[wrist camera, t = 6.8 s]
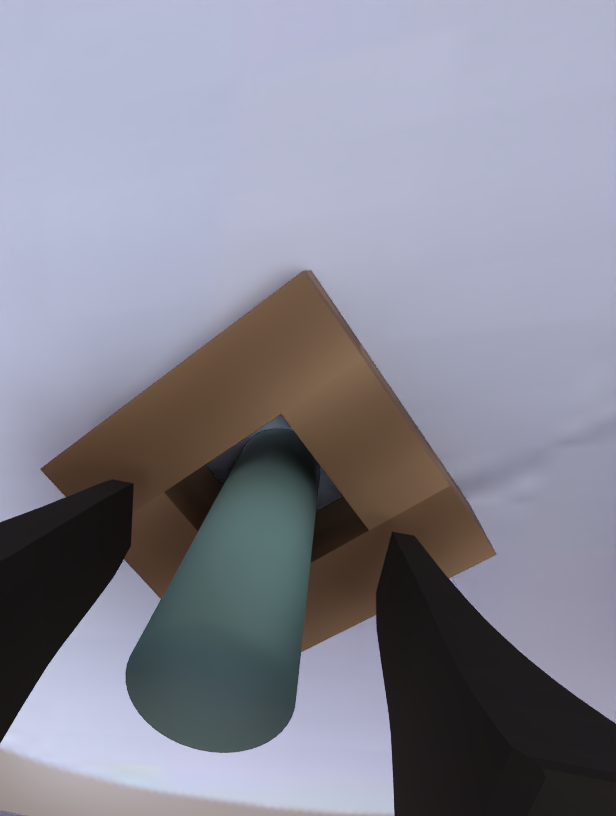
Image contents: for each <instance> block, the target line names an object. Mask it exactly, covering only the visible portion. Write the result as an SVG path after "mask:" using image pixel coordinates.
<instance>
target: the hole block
mask: <svg viewBox="0 0 616 816" xmlns="http://www.w3.org/2000/svg"><path fill="white" fill-rule="evenodd" d="M280 414H282V416H283V417H284V418H285V420H286V421H287V422H288V424H289V425H290V426H291V428H292V429H293V430H294V432H295V433H296V434H297V436H298V437H299V438H300V440H301V441H302V442H303V443H304V445H305V446H306V447H307V449H308V450H309V451H310V453H311V454H312V455H313V457H314V458H315V459H316V461H317V462H318V463H319V465H320V466H321V467H322V469H323V470H324V471H325V473H326V474H327V475H328V477H329V478H330V479H331V481H332V482H333V483H334V485H335V486H336V487H337V489H338V490H339V491H340V493H341V494H342V495H343V497H341V498H340V499H338V500H336V501H335V502H333V503H331V504H329V505H328V506H326V507H324V508H323V509H321V510H319V511H318V512H316V516H315V526H314V535H313V544H312V554H311V563H310V572H309V582H308V591H307V600H306V610H305V619H304V628H303V638H302V647H301V652H302V651H304V650H306V649H308V648H310V647H312V646H314V645H316V644H318V643H320V642H322V641H324V640H326V639H328V638H330V637H332V636H334V635H336V634H338V633H340V632H342V631H344V630H346V629H348V628H350V627H352V626H354V625H356V624H358V623H360V622H362V621H364V620H366V619H368V618H370V617H372V616H374V615H376V590H377V587H378V583H379V579H380V575H381V571H382V568H383V564H384V560H385V556H386V553H387V549H388V545H389V541H390V537H391V534H392V532H397V533H403V534H408V535H414V536H415V537H416V538H417V539H418V541H419V542H420V543H421V544H422V546H423V547H424V548H425V549H426V551H427V552H428V553H429V555H430V556H431V557H432V558H433V560H434V561H435V562H436V564H437V565H438V566H439V567H440V569H441V570H442V571H443V572H444V574H445V575H446V576H447V577H448V578H450V577H452V576H454V575H456V574H458V573H460V572H462V571H464V570H466V569H468V568H470V567H472V566H474V565H476V564H478V563H480V562H482V561H484V560H486V559H488V558H490V557H492V556H494V555H496V552H495V551H494V549H493V547H492V545H491V543H490V541H489V539H488V538H487V536H486V534H485V532H484V530H483V528H482V526H481V525H480V523H479V521H478V519H477V517H476V515H475V514H474V512H473V510H472V508H471V506H470V504H469V503H468V501H467V500H466V498H465V497H464V495H463V494H462V492H461V491H460V489H459V488H458V486H457V485H456V483H455V482H454V480H453V479H452V477H451V476H450V475H449V473H448V472H447V470H446V469H445V467H444V466H443V464H442V463H441V461H440V460H439V458H438V457H437V455H436V454H435V452H434V451H433V449H432V448H431V446H430V445H429V444H428V442H427V441H426V439H425V438H424V436H423V435H422V433H421V432H420V430H419V429H418V427H417V426H416V424H415V423H414V421H413V420H412V418H411V417H410V415H409V414H408V413H407V411H406V410H405V408H404V407H403V405H402V404H401V402H400V401H399V399H398V398H397V396H396V395H395V393H394V392H393V390H392V389H391V387H390V386H389V384H388V383H387V382H386V380H385V379H384V377H383V376H382V374H381V373H380V371H379V370H378V368H377V367H376V365H375V364H374V362H373V361H372V359H371V358H370V356H369V355H368V353H367V352H366V350H365V349H364V348H363V346H362V345H361V343H360V342H359V340H358V339H357V337H356V336H355V334H354V333H353V331H352V330H351V328H350V327H349V325H348V324H347V322H346V321H345V319H344V318H343V317H342V315H341V314H340V312H339V311H338V309H337V308H336V306H335V305H334V303H333V302H332V300H331V299H330V297H329V296H328V294H327V293H326V291H325V290H324V288H323V287H322V286H321V284H320V283H319V281H318V280H317V278H316V277H315V275H314V274H313V272H312V271H311V270H310V271H303V272H301V273H300V274H299V275H297V276H296V277H295V278H293V279H292V280H291V281H289V282H288V283H287V284H285V285H284V286H283V287H281V288H280V289H279V290H277V291H276V292H275V293H273V294H272V295H271V296H270V297H268V298H267V299H266V300H264V301H263V302H262V303H260V304H259V305H258V306H256V307H255V308H254V309H252V310H251V311H250V312H248V313H247V314H246V315H244V316H243V317H242V318H240V319H239V320H238V321H236V322H235V323H234V324H232V325H231V326H230V327H228V328H227V329H226V330H224V331H223V332H222V333H220V334H219V335H218V336H216V337H215V338H214V339H212V340H211V341H210V342H208V343H207V344H206V345H204V346H203V347H202V348H200V349H199V350H198V351H196V352H195V353H194V354H192V355H191V356H190V357H188V358H187V359H186V360H184V361H183V362H182V363H180V364H179V365H178V366H176V367H175V368H174V369H172V370H171V371H170V372H168V373H167V374H166V375H164V376H163V377H162V378H161V379H159V380H158V381H157V382H155V383H154V384H153V385H151V386H150V387H149V388H147V389H146V390H145V391H143V392H142V393H141V394H139V395H138V396H137V397H135V398H134V399H133V400H131V401H130V402H129V403H127V404H126V405H125V406H123V407H122V408H121V409H119V410H118V411H117V412H115V413H114V414H113V415H111V416H110V417H109V418H107V419H106V420H105V421H103V422H102V423H101V424H99V425H98V426H97V427H95V428H94V429H93V430H91V431H90V432H89V433H87V434H86V435H85V436H83V437H82V438H81V439H79V440H78V441H77V442H75V443H74V444H73V445H71V446H70V447H69V448H67V449H66V450H65V451H63V452H62V453H61V454H59V455H58V456H57V457H55V458H54V459H53V460H52V461H50V462H49V463H48V464H46V465H45V466H44V467H42V468H41V471H42V472H43V473H44V474H45V475H46V476H47V477H48V478H49V479H50V480H51V481H52V482H53V483H54V484H55V486H56V487H57V488H58V489H59V490H60V491H61V492H62V493H63V494H64V495H65V496H66V497H68V496H70V495H73V494H75V493H77V492H80V491H82V490H85V489H87V488H90V487H92V486H95V485H97V484H100V483H102V482H105V481H108V480H112V479H114V480H119V481H124V482H130V483H134V490H133V513H132V535H131V547H130V549H129V550H128V552H127V554H126V556H125V558H124V560H125V561H126V562H127V563H128V564H129V565H130V566H131V567H132V568H133V569H134V570H135V571H136V573H137V574H138V575H139V576H140V577H141V578H142V579H143V580H144V581H145V582H146V583H147V584H148V585H149V586H150V588H151V589H152V590H153V591H154V592H155V593H156V594H157V595H158V596H159V597H160V598H161V599H162V597H163V595H164V593H165V591H166V590H167V588H168V586H169V584H170V582H171V580H172V579H173V577H174V575H175V573H176V571H177V569H178V568H179V566H180V564H181V562H182V560H183V558H184V557H185V555H186V553H187V551H188V549H189V547H190V546H191V544H192V542H193V540H194V538H195V536H196V535H197V533H198V531H199V529H200V527H201V525H202V524H203V522H204V520H205V518H206V516H207V514H208V513H209V511H210V509H211V507H212V505H213V503H214V502H215V500H216V498H217V496H218V494H219V492H220V491H221V489H222V487H223V486H222V485H221V483H220V482H219V481H218V480H217V479H216V477H215V476H214V475H213V474H212V473H211V471H210V470H209V469H208V468H207V466H206V465H205V464H207V463H208V462H210V461H211V460H213V459H214V458H216V457H217V456H219V455H220V454H222V453H223V452H225V451H226V450H228V449H229V448H231V447H232V446H234V445H235V444H237V443H238V442H240V441H241V440H243V439H244V438H246V437H247V436H249V435H250V434H252V433H253V432H255V431H256V430H258V429H259V428H261V427H262V426H264V425H265V424H267V423H268V422H270V421H271V420H273V419H274V418H276V417H277V416H279V415H280Z"/></svg>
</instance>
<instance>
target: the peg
mask: <svg viewBox="0 0 616 816" xmlns="http://www.w3.org/2000/svg"><path fill="white" fill-rule="evenodd" d="M319 479H320V465H319V463H318V462H317V461H316V459H315V458H314V457H313V455H312V454H311V453H310V451H309V450H308V449H307V447H306V446H305V445H304V443H303V442H302V441H301V440H300V438H299V437H298V436H297V434H296V433H295V432H294V431H291V430H287V429H269V430H265V431H263V432H260V433H258V434H256V435H255V436H254V437H252V438H251V439H250V440H249V441H248V442H247V444H246V445H245V447H244V448H243V450H242V452H241V454H240V456H239V458H238V459H237V461H236V463H235V465H234V467H233V469H232V470H231V472H230V474H229V476H228V478H227V480H226V481H225V483H224V485H223V487H222V489H221V491H220V492H219V494H218V496H217V498H216V500H215V502H214V503H213V505H212V507H211V509H210V511H209V513H208V514H207V516H206V518H205V520H204V522H203V524H202V525H201V527H200V529H199V531H198V533H197V535H196V536H195V538H194V540H193V542H192V544H191V546H190V547H189V549H188V551H187V553H186V555H185V557H184V558H183V560H182V562H181V564H180V566H179V568H178V569H177V571H176V573H175V575H174V577H173V579H172V580H171V582H170V584H169V586H168V588H167V590H166V591H165V593H164V595H163V597H162V599H161V601H160V602H159V604H158V606H157V608H156V610H155V612H154V613H153V615H152V617H151V619H150V621H149V623H148V624H147V626H146V628H145V630H144V632H143V634H142V635H141V637H140V639H139V641H138V643H137V645H136V646H135V648H134V650H133V652H132V654H131V656H130V658H129V661H128V663H127V668H126V686H127V691H128V694H129V696H130V699H131V701H132V703H133V705H134V707H135V708H136V710H137V711H138V713H139V714H140V715H141V716H142V717H143V719H144V720H145V721H146V722H147V723H148V724H150V725H151V726H152V727H153V728H154V729H155V730H157V731H158V732H160V733H161V734H162V735H164V736H166V737H167V738H169V739H171V740H173V741H175V742H177V743H179V744H182V745H185V746H188V747H190V748H194V749H198V750H203V751H208V752H219V753H230V752H240V751H245V750H249V749H253V748H256V747H258V746H261V745H263V744H265V743H267V742H269V741H270V740H272V739H273V738H275V737H276V736H277V735H278V734H279V733H281V732H282V731H283V729H284V728H285V727H286V726H287V724H288V723H289V721H290V719H291V717H292V715H293V712H294V709H295V702H296V694H297V684H298V675H299V666H300V656H301V647H302V638H303V628H304V619H305V610H306V600H307V591H308V582H309V572H310V563H311V554H312V544H313V535H314V526H315V516H316V507H317V498H318V488H319Z"/></svg>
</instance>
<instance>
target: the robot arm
mask: <svg viewBox="0 0 616 816" xmlns="http://www.w3.org/2000/svg"><path fill="white" fill-rule="evenodd" d="M133 490H134V483H130V482H124V481H119V480H114V479H112V480H108V481H105V482H102V483H100V484H97V485H95V486H92V487H90V488H87V489H85V490H82V491H80V492H77V493H75V494H73V495H70V496H68V497H65V498H63V499H60V500H58V501H56V502H53V503H51V504H48V505H46V506H43V507H41V508H38V509H35V510H33V511H30V512H27V513H24V514H22V515H19V516H16V517H14V518H11V519H8V520H5V521H3V522H0V743H1V741H2V740H3V738H4V736H5V734H6V733H7V731H8V729H9V728H10V726H11V724H12V723H13V721H14V719H15V718H16V716H17V714H18V712H19V711H20V709H21V707H22V706H23V704H24V703H25V701H26V699H27V698H28V696H29V695H30V693H31V691H32V690H33V688H34V686H35V685H36V683H37V682H38V680H39V678H40V677H41V675H42V674H43V672H44V670H45V669H46V667H47V666H48V664H49V663H50V661H51V660H52V659H53V657H54V656H55V654H56V653H57V651H58V650H59V649H60V647H61V646H62V645H63V643H64V642H65V641H66V639H67V638H68V637H69V636H70V634H71V633H72V632H73V630H74V629H75V628H76V626H77V625H78V624H79V622H80V621H81V620H82V618H83V617H84V616H85V614H86V613H87V612H88V611H89V609H90V608H91V607H92V605H93V604H94V603H95V601H96V600H97V599H98V597H99V596H100V595H101V593H102V592H103V591H104V589H105V588H106V587H107V585H108V584H109V582H110V581H111V580H112V578H113V577H114V575H115V573H116V572H117V570H118V568H119V567H120V565H121V563H122V561H123V560H124V558H125V556H126V554H127V552H128V550H129V549H130V547H131V535H132V513H133ZM376 624H377V635H378V642H379V649H380V657H381V664H382V670H383V677H384V684H385V691H386V698H387V705H388V712H389V721H390V730H391V745H392V764H393V785H394V812H395V816H616V724H615V723H614V722H612V721H611V720H609V719H608V718H606V717H605V716H604V715H602V714H601V713H599V712H598V711H596V710H595V709H593V708H592V707H591V706H589V705H588V704H586V703H585V702H583V701H582V700H581V699H579V698H578V697H576V696H575V695H574V694H572V693H571V692H570V691H568V690H567V689H566V688H564V687H563V686H562V685H560V684H559V683H558V682H556V681H555V680H554V679H552V678H551V677H550V676H549V675H547V674H546V673H545V672H544V671H543V670H541V669H540V668H539V667H538V666H536V665H535V664H534V663H533V662H531V661H530V660H529V659H528V658H527V657H525V656H524V655H523V654H522V653H521V652H520V651H518V650H517V649H516V648H515V647H514V646H513V645H512V644H511V643H510V642H509V641H507V640H506V639H505V638H504V637H503V636H502V635H501V634H500V633H499V632H498V631H497V630H496V629H495V628H493V627H492V626H491V625H490V624H489V623H488V622H487V621H486V620H485V619H484V618H483V616H482V615H481V614H480V613H479V612H478V611H477V610H476V609H475V608H474V607H473V606H472V605H471V604H470V603H469V601H468V600H467V599H466V598H465V597H464V596H463V595H462V594H461V593H460V591H459V590H458V589H457V588H456V587H455V586H454V584H453V583H452V582H451V581H450V580H449V578H448V577H447V576H446V575H445V574H444V572H443V571H442V570H441V569H440V567H439V566H438V565H437V564H436V562H435V561H434V560H433V558H432V557H431V556H430V555H429V553H428V552H427V551H426V549H425V548H424V547H423V546H422V544H421V543H420V542H419V541H418V539H417V538H416V537H415V536H414V535H408V534H403V533H397V532H392V534H391V537H390V541H389V545H388V549H387V553H386V556H385V560H384V564H383V568H382V571H381V575H380V579H379V583H378V587H377V590H376ZM0 816H26V815H21V814H16V813H11V812H6V811H1V810H0Z"/></svg>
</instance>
